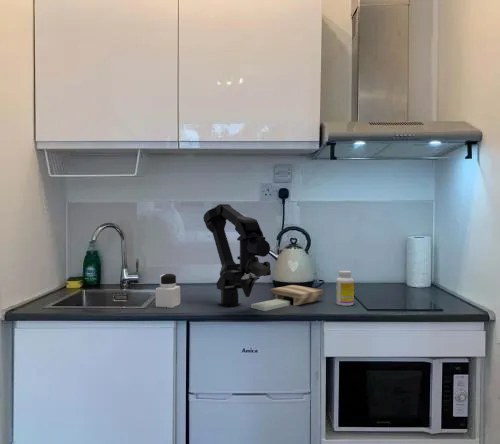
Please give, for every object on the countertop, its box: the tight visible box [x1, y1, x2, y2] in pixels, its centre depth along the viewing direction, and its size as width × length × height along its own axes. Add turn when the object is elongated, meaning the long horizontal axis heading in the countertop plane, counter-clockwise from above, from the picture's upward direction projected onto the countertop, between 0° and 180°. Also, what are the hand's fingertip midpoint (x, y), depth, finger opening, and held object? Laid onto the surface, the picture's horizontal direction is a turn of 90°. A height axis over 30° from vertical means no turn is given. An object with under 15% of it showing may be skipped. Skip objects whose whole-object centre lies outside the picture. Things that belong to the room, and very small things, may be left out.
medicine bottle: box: [155, 273, 181, 309], centre depth 185 cm, size 7×7×12 cm
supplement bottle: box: [335, 270, 355, 307], centre depth 187 cm, size 7×7×13 cm
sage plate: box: [250, 298, 291, 312], centre depth 183 cm, size 14×7×2 cm, turn 133°
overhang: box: [270, 284, 324, 306], centre depth 193 cm, size 14×16×5 cm
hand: (247, 296), depth 175 cm, fingers closed
